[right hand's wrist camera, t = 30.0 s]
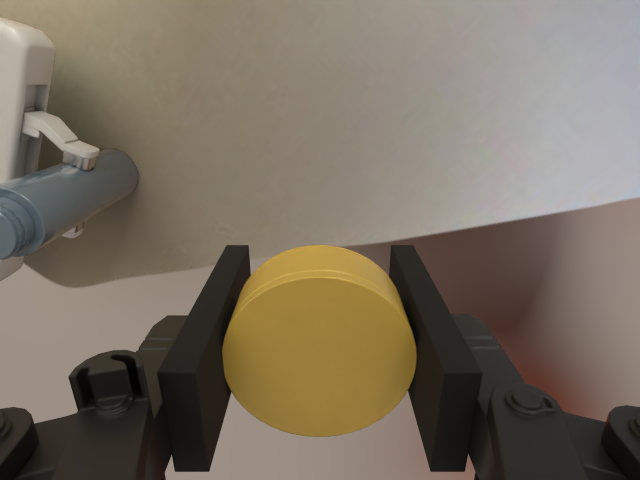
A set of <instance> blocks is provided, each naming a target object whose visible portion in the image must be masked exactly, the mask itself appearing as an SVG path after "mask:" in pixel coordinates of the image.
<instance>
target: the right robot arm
mask: <svg viewBox="0 0 640 480" xmlns="http://www.w3.org/2000/svg"><path fill="white" fill-rule="evenodd" d="M250 276H251V274H250V259H249V245H227V246H226V247H225V249H224V251H223V253H222V255H221V257H220V258H219V260H218V262H217V264H216V266H215V268H214V269H213V271H212V273H211V275H210V277H209V279H208V280H207V282H206V284H205V286H204V288H203V289H202V291H201V293H200V295H199V297H198V299H197V300H196V302H195V304H194V306H193V308H192V310H191V312H190V313H189V315H188V316H166V317H165V318H164V319H162V320H161V321H159V322H158V323H157V324H155V325H154V326H153V327H152V329H151V330H150V332H149V333H148V335H147V336H146V339H145V340H144V341H143V342H142V344H141V346H140V347H139V350H138V351H136V352H132V351H128V350H113V351H109V352H105V353H101V354H98V355H96V356H94V357H92V358H89V359H87V360H85V361H84V362H83V363H81V364H80V365H78V366H77V367H76V368H75V369H74V370H73V371H72V373H71V374H70V375H69V380H70V384H71V388H72V391H73V395H74V398H75V402H76V405H77V409H78V412H77V413H76V414H73V415H69V416H66V417H61V418H57V419H53V420H48V421H44V422H40V423H36V424H34V422H33V419H32V416H31V414H30V413H29V412H28V411H27V410H25V409H22V408H16V407H11V408H4V409H0V480H166V478H165V470H166V468H167V465H168V463H169V460H170V457H171V455H172V458H173V463H174V469H175V472H209V470H210V466H211V463H212V459H213V455H214V452H215V448H216V445H217V441H218V438H219V434H220V431H221V427H222V423H223V420H224V416H225V413H226V409H227V406H228V402H229V398H230V395H231V390H230V388H229V386H228V384H227V382H226V379H225V374H224V366H223V356H222V345H223V340H224V337H225V334H226V331H227V328H228V326H229V323H230V320H231V317H232V315H233V312H234V309H235V306H236V304H237V301H238V298H239V295H240V293H241V290H242V288H243V287H244V285H245V283H246V281H247V280H248V279H249V277H250ZM389 278H390V279H391V280H392V282H393V284H394V285H395V287H396V289H397V291H398V294H399V296H400V299H401V301H402V304H403V307H404V310H405V312H406V315H407V318H408V321H409V324H410V326H411V329H412V332H413V335H414V338H415V343H416V349H417V362H416V370H415V374H414V378H413V380H412V383H411V385H410V387H409V389H408V392H409V396H410V399H411V403H412V406H413V410H414V414H415V417H416V421H417V424H418V428H419V431H420V435H421V439H422V442H423V446H424V449H425V453H426V457H427V460H428V464H429V467H430V471H431V472H464V471H465V467H466V462H467V456H468V453H469V456H470V459H471V461H472V464H473V466H474V469H475V471H476V473H475V478H474V480H640V407H634V406H627V405H626V406H620V407H615V408H614V409H613V410H612V411H610V412H609V415H608V418H607V421H606V422H603V421H599V420H595V419H590V418H586V417H582V416H577V415H573V414H570V413H567V412H563V411H562V409H561V408H560V406H559V405H558V403H557V401H556V400H555V399H553V398H552V397H551V396H550V395H549V394H547V393H546V392H545V391H543V390H541V389H539V388H537V387H535V386H533V385H529V384H526V383H525V381H524V380H523V378H522V377H521V375H520V374H519V372H518V371H517V369H516V368H515V366H514V365H513V363H512V362H511V361H510V359H509V357H508V356H507V354H506V353H505V351H504V350H503V349H501V345H500V344H499V342H498V341H497V339H495V337H494V335H493V334H492V332H491V331H490V329H489V328H488V326H487V325H486V324H485V323H484V322H482V321H481V320H480V319H478V318H477V317H475V316H474V315H473V314H450V312H449V310H448V308H447V306H446V305H445V303H444V301H443V299H442V297H441V295H440V294H439V292H438V290H437V288H436V286H435V284H434V283H433V281H432V279H431V277H430V275H429V274H428V272H427V270H426V268H425V266H424V264H423V263H422V261H421V259H420V257H419V255H418V253H417V252H416V250H415V248H414V246H413V245H392V246H391V256H390V270H389Z"/></svg>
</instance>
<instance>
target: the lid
mask: <svg viewBox="0 0 640 480" xmlns="http://www.w3.org/2000/svg"><path fill="white" fill-rule="evenodd" d="M222 356H223V366H224V374H225V379H226V382H227V384H228V386H229V388H230V390H231V392H232V393H233V395H234V396H235V398H236V399H237V400H238V402H239V403H240V404H241V405H242V406H243V407H244V408H245V409H246V410H247V411H248V412H249V413H250V414H252V415H253V416H254V417H256V418H257V419H259V420H260V421H262V422H264V423H266V424H267V425H269V426H271V427H274V428H276V429H279V430H281V431H284V432H288V433H291V434H296V435H302V436H311V437H328V436H337V435H342V434H347V433H351V432H354V431H357V430H360V429H363V428H365V427H367V426H369V425H371V424H373V423H375V422H377V421H378V420H380V419H381V418H383V417H384V416H386V415H387V414H388V413H389V412H391V411H392V410H393V409H394V408H395V407H396V406H397V405H398V404H399V402H400V401H401V400H402V398H403V397H404V396H405V394H406V392H407V391H408V389H409V387H410V385H411V383H412V380H413V378H414V374H415V370H416V362H417V349H416V343H415V338H414V335H413V332H412V329H411V326H410V324H409V321H408V318H407V315H406V312H405V310H404V307H403V304H402V301H401V299H400V296H399V294H398V291H397V289H396V287H395V285H394V284H393V282H392V280H391V279H390V278H389V277H388V275H387V274H386V273H385V272H384V271H383V270H382V269H381V268H380V267H379V266H378V265H377V264H375V263H374V262H372V261H371V260H369V259H368V258H366V257H364V256H362V255H360V254H358V253H356V252H353V251H351V250H348V249H344V248H340V247H336V246H326V245H311V246H304V247H298V248H295V249H291V250H288V251H285V252H283V253H280V254H278V255H276V256H274V257H273V258H271V259H269V260H268V261H266V262H265V263H264V264H262V265H261V266H260V267H259V268H258V269H257V270H256V271H255V272H254V273H253V274H252V275H251V276H250V277H249V279H248V280H247V281H246V283H245V285H244V287H243V288H242V290H241V293H240V295H239V298H238V301H237V304H236V306H235V309H234V312H233V315H232V317H231V320H230V323H229V326H228V328H227V331H226V334H225V337H224V340H223V345H222Z"/></svg>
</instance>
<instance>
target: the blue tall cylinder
mask: <svg viewBox="0 0 640 480" xmlns="http://www.w3.org/2000/svg"><path fill="white" fill-rule="evenodd" d="M137 182H138V172H137V168H136V166H135V164H134V163H133V161H132V160H131V159H130V158H129V157H128V156H127V155H126V154H124V153H123V152H121V151H118V150H115V149H102V150H99V156H98V159H97V163H96V168H92V169H91V170H81V169H79V168H77V167H76V166H75V165H72V166H71V165H67V164H65V163H60V164H57V165H54V166H51V167H48V168H45V169H42V170H39V171H36V172H33V173H30V174H27V175H24V176H21V177H18V178H15V179H12V180H9V181H6V182H3V183H0V260H5V259H8V258H11V257H22V256H27V255H30V254H32V253H34V252H36V251H37V250H39V249H40V248H42V247H44V246H45V245H47V244H49V243H50V242H52V241H53V240H55V239H57V238H58V237H60V236H62V235H63V234H65V233H66V232H68V231H70V230H71V229H73V228H75V227H76V226H78V225H79V224H81V223H83V222H84V221H86V220H88V219H89V218H91V217H92V216H94V215H96V214H97V213H99V212H101V211H102V210H104V209H105V208H107V207H109V206H110V205H112V204H114V203H115V202H117V201H118V200H120V199H122V198H123V197H125V196H127V195H128V194H130V193H131V192H132V191H133V190H134V189H135V187H136V185H137Z"/></svg>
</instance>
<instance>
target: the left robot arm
mask: <svg viewBox="0 0 640 480" xmlns="http://www.w3.org/2000/svg"><path fill="white" fill-rule="evenodd" d="M55 54H56V50H55V47H54V45H53V44H52V42H51V41H50V40H49V38H48V37H47V36H46V35H45V33H44V32H42V31H40V30H38V29H36V28H33V27H30V26H28V25H25V24H22V23H19V22H15V21H12V20H9V19H5V18H1V17H0V183H3V182H6V181H9V180H12V179H15V178H18V177H21V176H24V175H27V174H30V173H33V172H36V171H37V169H38V163H39V157H40V150H41V144H42V137H44V136H46V137H47V138H48V139H50V140H51V141H52V142H53V143H54V144H55V145H56V146H57V147H58V148H59V149H60V150H61V151H62V152H63V159H62V163H65V164H67V165H71V166H72V165H75V166H76V167H77V168H79V169H81V170H91V169H92V168H96V163H97V159H98V156H99V150H100V149H98V148H97V147H94V146H92V145H89V144H87V143H84V142H81V141H79V140H78V138H77V136H76V135H75V134H74V133H73V132H72V131H71V130H70V129H69V128H68V127H67V126H66V124H65V123H64V122H63V121H62V120H61V119H60V118H59V117H56V116H54V115H51V114H49V113H46V111H47V105H48V99H49V92H50V86H51V79H52V73H53V66H54V60H55ZM84 223H85V221H84V222H83V223H81V224H79V225H78V226H76V227H75V228H73V229H71V230H70V231H68V232H66V233H65V234H63V235H62V236H64V237H67V238H76V237H77V236H79V235H80V234H82V232H83V228H84ZM23 260H24V256H22V257H11V258H8V259H5V260H0V281H1V280H3V279H5V278H6V277H8V276H10V275H11V274H13V273H14V272H16V271H17V270H18V269H20V268H21V266H22V265H23Z"/></svg>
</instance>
